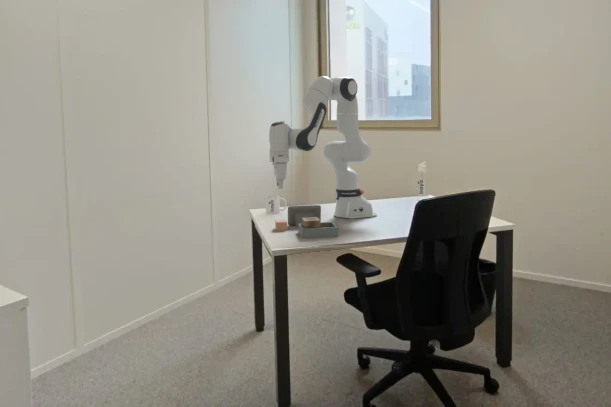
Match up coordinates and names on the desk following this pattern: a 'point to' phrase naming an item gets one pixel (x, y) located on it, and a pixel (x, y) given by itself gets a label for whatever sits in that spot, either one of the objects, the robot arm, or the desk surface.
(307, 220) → the block
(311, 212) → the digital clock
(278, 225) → the light cube
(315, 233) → the tote
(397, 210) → the desk surface
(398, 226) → the desk surface
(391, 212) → the desk surface
